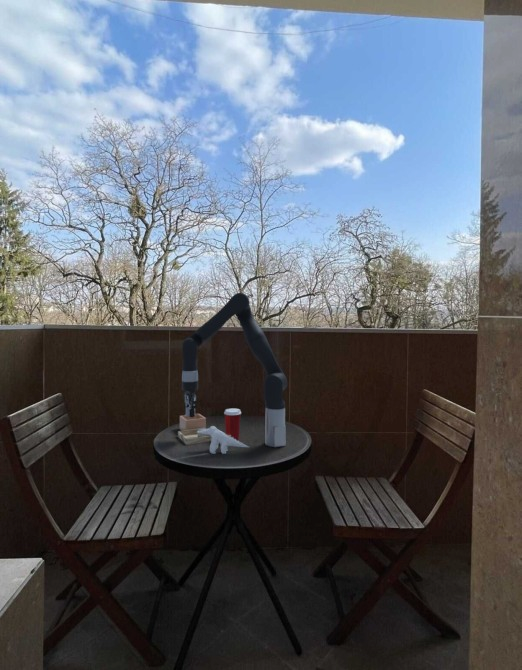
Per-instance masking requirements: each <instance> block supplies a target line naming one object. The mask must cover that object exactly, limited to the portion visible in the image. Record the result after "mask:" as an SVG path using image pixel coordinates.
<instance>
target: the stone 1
mask: <svg viewBox="0 0 522 670" xmlns="http://www.w3.org/2000/svg"><path fill="white" fill-rule="evenodd" d="M185 415H186V417H190V409H189V407H186V406H185Z"/></svg>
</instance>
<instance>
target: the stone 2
mask: <svg viewBox="0 0 522 670" xmlns="http://www.w3.org/2000/svg"><path fill="white" fill-rule="evenodd" d="M205 429H207V427H206V428H199V429H198V431H202V430H205ZM204 436H207V434H201V433H198V437H204Z"/></svg>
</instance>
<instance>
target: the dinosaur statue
mask: <svg viewBox="0 0 522 670" xmlns="http://www.w3.org/2000/svg"><path fill="white" fill-rule="evenodd" d="M197 433H201V434H207V435H211V437H212V439H211V441H210V445H209V453H210V454H212V455H215V454H217V449H218V448H219V445H220V452H221V454H222V455H224V454H225V455H227V452H228V447H236V448H237V447H242V448H250V446H248V445H246V444H245V443H243V442H241V441H240V440H236V439H234V438H233V437H231V435H230V436H228V435H226V432H223V431H221V430H220V429H218V428H217V427H216V426H215V425H211V426H210V427H208V428H206V429H205V430H202V431H197Z"/></svg>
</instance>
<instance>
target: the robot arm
mask: <svg viewBox="0 0 522 670" xmlns="http://www.w3.org/2000/svg"><path fill="white" fill-rule="evenodd" d="M250 304H251V303H250V298H249V297H248V295H247V294H246V293H243V292H237V293H235V294H233V296H231V298H230V299H229V300H228V301H227V302H226V304H225V305H224V306H223V307H222V308H220V310H219V311H218V312H217V313H215V314H214V315H213V316H211V318H209V319H208V320H207V321H205V323H204V324H202V325H201V326H200V327H199V328H198V329H196V331H194V332H193V333H192V334H191V335H189V336H188V337H186V338H185V339H184V340H183V341H182V345H181V347H182V348H181V349H182V350H181V351H182V362H181V363H182V373H181V390H182V391H185V392H183V404H184V406H185V408H186V407H189V409H190V417H194V416H195V414H196V409H197V406H198V396H196V393H195V391H197V390H199V373H198V348H199V347H200V346H201V345H202V344H204V343H205V342H207V341H208V340H210V339H211V338H213V336H215V335H216V334H217V333H218V332H219V331H220V330H221V329H222V327H223V326H224V325H225V324H226V323H227V322H228V321H229V320H230V319H231V318H232V317H234V316H236V318H237V320H238V322H239V323H240V326H241V329H242V332H243V335H244V337H245V341H246V342H247V344H248V347H249V349H250V352H251V353H252V355H253V356H254V357H255V359H256V360H257V361H258V362H259V363H260V365H261V366H262V367H263V368H264V370H265V373H266V376H265V378H264V381H263V400H264V404H265V419H264V420H265V425H264V426H265V429H264V430H265V433H264V434H265V436H264V439H265V440H264V441H265V445H266V446H268V447H273V448H278V447H285V446H286V444H287V443H286V438H287V436H286V435H287V430H286V429H287V425H286V402H285V400H284V399H283V397H284V395H283V393H284V392H283V391H284V390H286V389H287V386H288V380H287V377H286V375H285V372H283V370H282V369H281V367H280V365H279V363H278V361H277V359H276V357H275V354H274V351H273V349H272V347H271V346H270V343H269V341H268V338H267V337H266V334H265V332H264V331H263V329H262V328H261V327H260V325H259V324H258V322H257V321H256V319H255V317H254V314H253V312H252V309H251V305H250Z"/></svg>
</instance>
